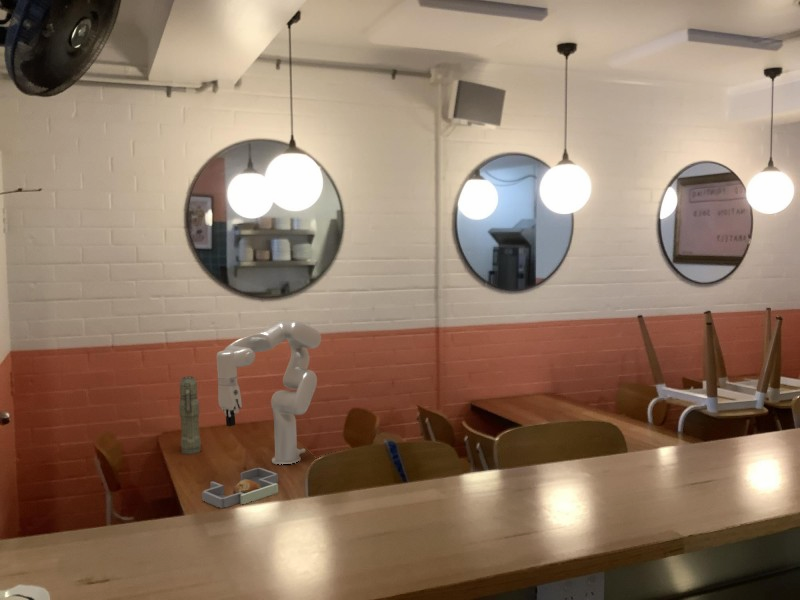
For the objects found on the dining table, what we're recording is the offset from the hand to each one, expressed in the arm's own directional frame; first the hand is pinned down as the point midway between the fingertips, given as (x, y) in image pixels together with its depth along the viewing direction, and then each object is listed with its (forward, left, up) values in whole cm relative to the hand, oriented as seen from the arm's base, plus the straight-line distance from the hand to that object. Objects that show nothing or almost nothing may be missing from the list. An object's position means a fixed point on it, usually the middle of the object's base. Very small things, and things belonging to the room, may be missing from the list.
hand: (230, 425), depth 294 cm
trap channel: (+5, +13, -23) cm, 27 cm away
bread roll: (+6, +18, -24) cm, 30 cm away
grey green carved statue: (-10, -49, -23) cm, 55 cm away
